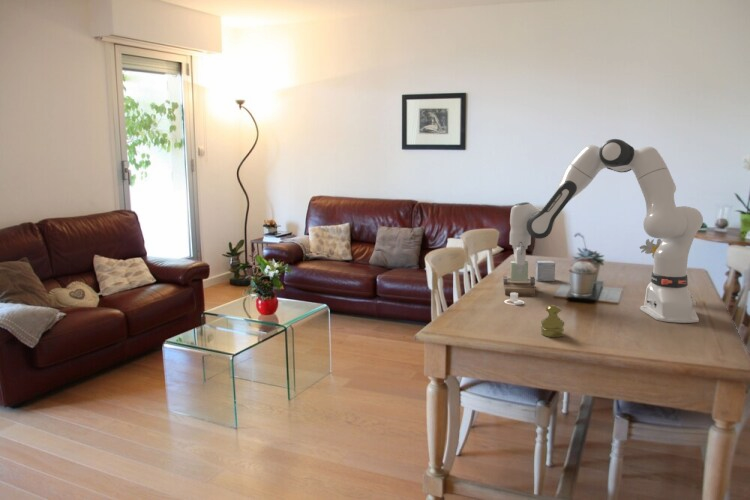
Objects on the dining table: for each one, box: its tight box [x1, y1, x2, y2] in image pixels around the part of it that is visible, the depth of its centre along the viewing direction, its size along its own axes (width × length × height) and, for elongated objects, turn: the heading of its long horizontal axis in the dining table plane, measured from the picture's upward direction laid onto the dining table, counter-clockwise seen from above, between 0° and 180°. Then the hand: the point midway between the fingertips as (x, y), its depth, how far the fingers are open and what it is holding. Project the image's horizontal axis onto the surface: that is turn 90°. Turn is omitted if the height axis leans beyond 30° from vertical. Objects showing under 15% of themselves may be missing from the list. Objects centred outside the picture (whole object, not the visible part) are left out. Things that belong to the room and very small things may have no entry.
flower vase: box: [639, 238, 662, 288], centre depth 234 cm, size 12×18×24 cm
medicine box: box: [535, 260, 556, 282], centre depth 267 cm, size 8×4×9 cm, turn 84°
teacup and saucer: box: [503, 292, 525, 306], centre depth 232 cm, size 9×8×4 cm
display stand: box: [502, 275, 536, 297], centre depth 250 cm, size 18×13×6 cm
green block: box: [510, 260, 529, 282], centre depth 249 cm, size 4×7×8 cm, turn 79°
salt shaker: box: [540, 304, 565, 338], centre depth 193 cm, size 7×7×10 cm
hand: (519, 272), depth 249 cm, fingers closed on green block, 4 cm apart
